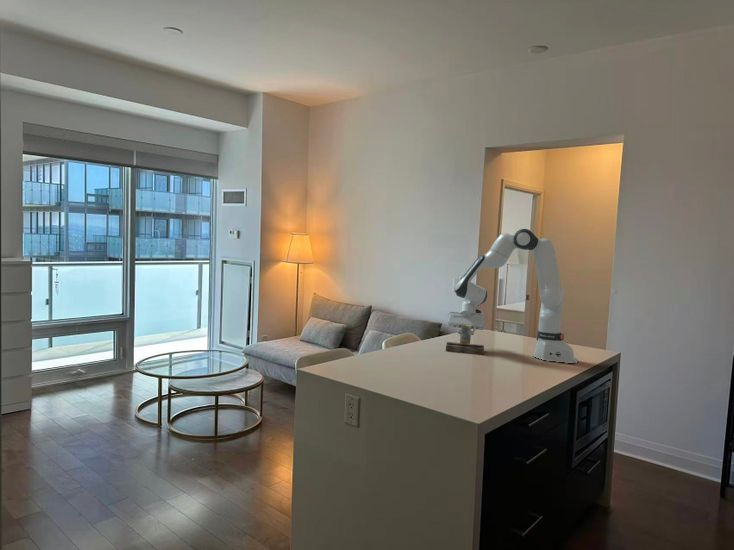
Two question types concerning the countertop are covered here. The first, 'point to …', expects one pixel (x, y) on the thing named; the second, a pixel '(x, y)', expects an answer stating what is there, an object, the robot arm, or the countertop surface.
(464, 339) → the wooden block
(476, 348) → the bridge
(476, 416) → the countertop surface
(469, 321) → the robot arm
